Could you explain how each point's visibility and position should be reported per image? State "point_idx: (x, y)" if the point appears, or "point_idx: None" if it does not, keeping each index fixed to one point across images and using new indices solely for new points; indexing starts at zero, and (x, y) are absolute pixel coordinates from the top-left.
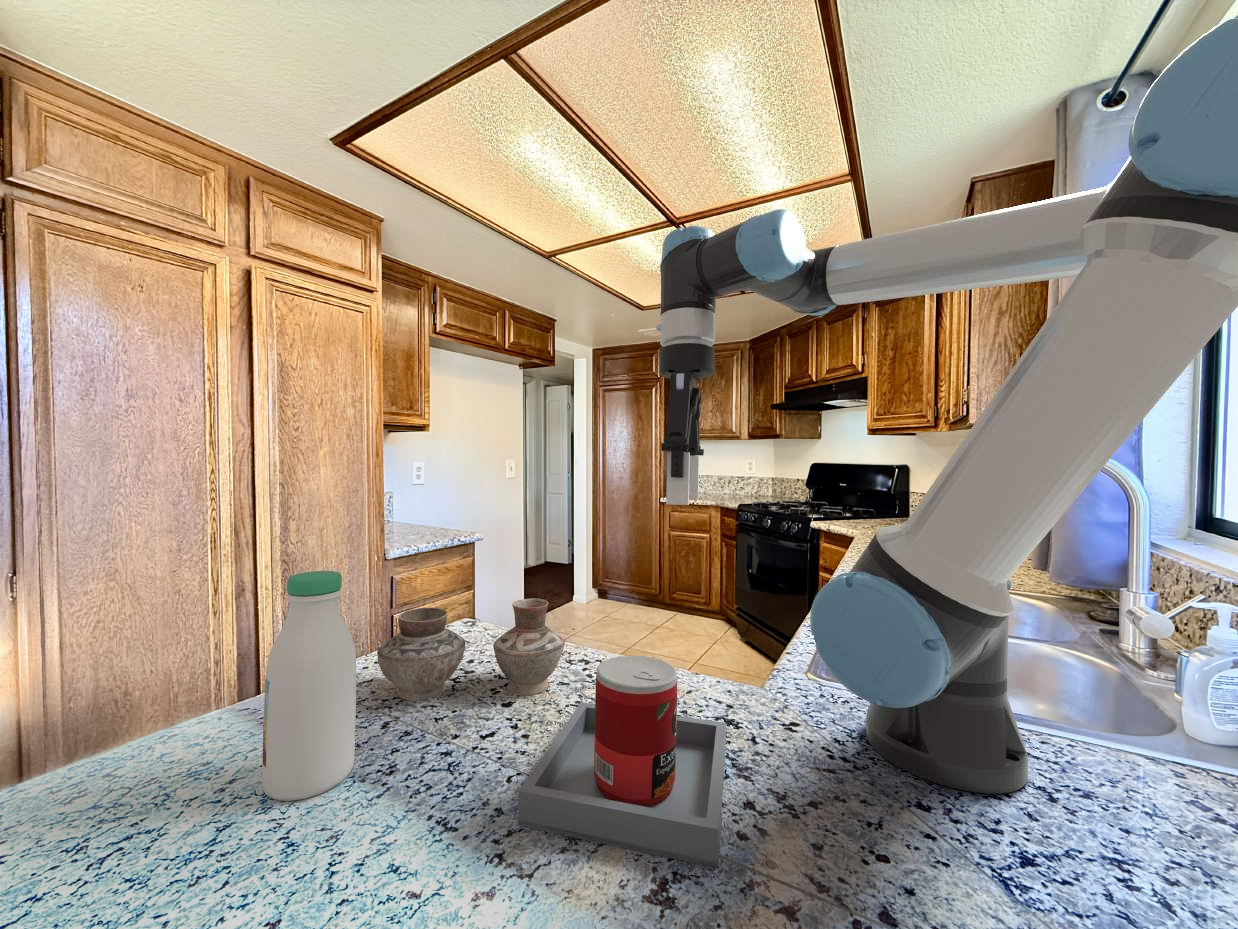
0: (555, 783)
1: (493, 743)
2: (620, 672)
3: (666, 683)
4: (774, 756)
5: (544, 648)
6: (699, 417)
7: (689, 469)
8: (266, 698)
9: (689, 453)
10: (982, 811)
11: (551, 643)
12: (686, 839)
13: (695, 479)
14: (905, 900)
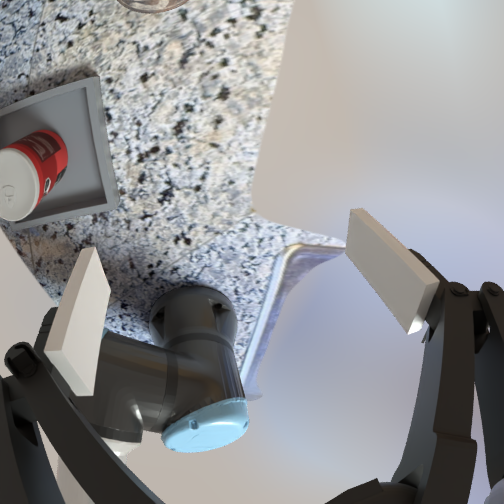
0: (22, 110)
1: (52, 30)
2: (3, 172)
3: (3, 218)
4: (130, 233)
5: (129, 4)
6: (392, 479)
7: (391, 280)
8: None
9: (87, 393)
10: (137, 327)
11: (142, 4)
12: None
13: (371, 278)
14: (53, 292)
